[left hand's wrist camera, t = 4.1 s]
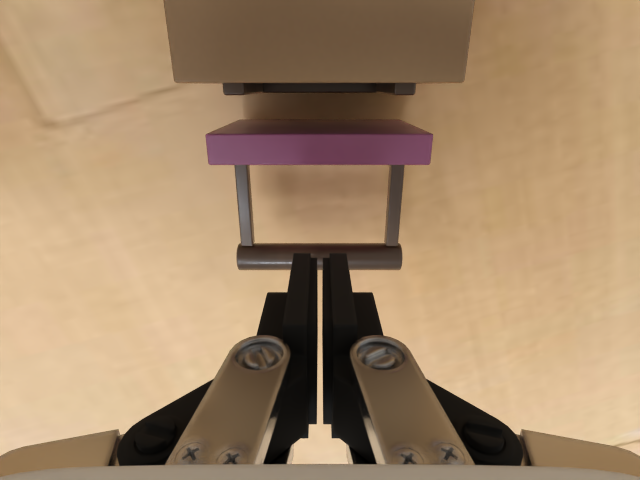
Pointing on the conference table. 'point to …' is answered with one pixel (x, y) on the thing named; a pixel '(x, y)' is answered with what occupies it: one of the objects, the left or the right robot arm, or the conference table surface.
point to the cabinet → (319, 41)
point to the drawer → (319, 149)
